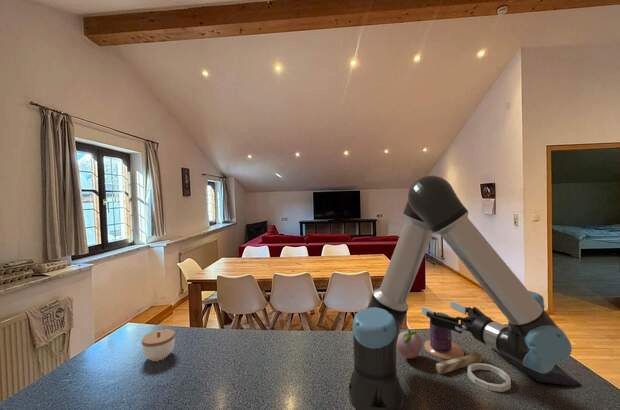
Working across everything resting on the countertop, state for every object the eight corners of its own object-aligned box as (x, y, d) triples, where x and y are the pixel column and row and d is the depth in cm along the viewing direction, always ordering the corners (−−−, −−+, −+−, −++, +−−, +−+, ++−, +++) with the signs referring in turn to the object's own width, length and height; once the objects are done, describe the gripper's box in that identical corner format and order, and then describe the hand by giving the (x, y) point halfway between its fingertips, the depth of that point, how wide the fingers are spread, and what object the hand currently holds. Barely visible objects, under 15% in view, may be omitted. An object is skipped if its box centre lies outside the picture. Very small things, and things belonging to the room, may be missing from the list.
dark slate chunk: (531, 388, 81) (531, 372, 81) (488, 347, 103) (488, 334, 103) (587, 389, 80) (587, 373, 80) (531, 347, 102) (531, 335, 102)
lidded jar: (174, 361, 99) (173, 335, 99) (139, 368, 95) (138, 341, 95) (176, 346, 109) (175, 322, 109) (145, 352, 105) (144, 328, 105)
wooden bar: (439, 374, 88) (439, 366, 88) (436, 371, 89) (435, 363, 89) (481, 361, 94) (481, 354, 94) (477, 359, 95) (477, 351, 95)
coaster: (454, 364, 93) (454, 363, 93) (417, 348, 103) (417, 347, 103) (469, 350, 101) (469, 348, 101) (434, 336, 111) (434, 335, 111)
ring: (504, 397, 77) (504, 392, 77) (460, 377, 86) (460, 372, 86) (516, 380, 84) (516, 375, 84) (474, 363, 93) (474, 358, 93)
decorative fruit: (400, 348, 103) (400, 321, 103) (424, 354, 99) (423, 327, 98) (392, 361, 96) (392, 332, 95) (417, 369, 91) (417, 338, 91)
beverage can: (447, 343, 105) (446, 311, 104) (454, 354, 98) (454, 320, 97) (427, 342, 105) (427, 311, 105) (433, 353, 98) (433, 319, 98)
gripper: (459, 353, 80) (409, 322, 100) (519, 337, 88) (462, 311, 108) (459, 328, 80) (409, 301, 100) (519, 314, 88) (462, 292, 108)
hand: (437, 306), depth 104 cm, fingers open, 13 cm apart
